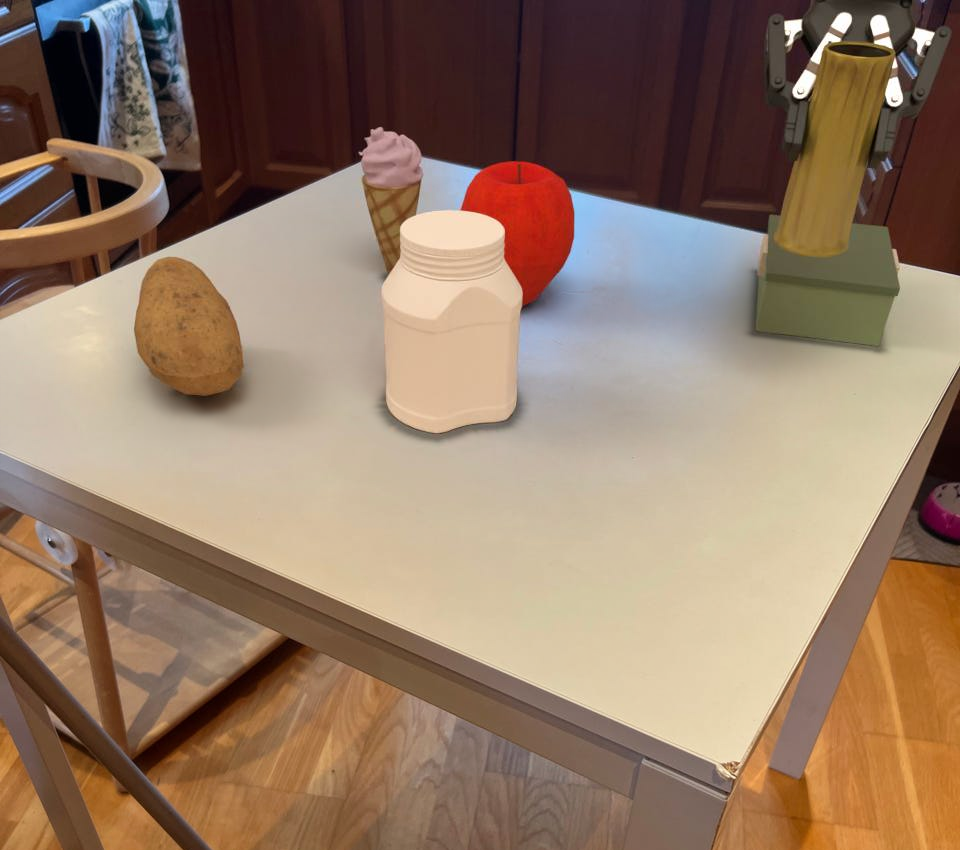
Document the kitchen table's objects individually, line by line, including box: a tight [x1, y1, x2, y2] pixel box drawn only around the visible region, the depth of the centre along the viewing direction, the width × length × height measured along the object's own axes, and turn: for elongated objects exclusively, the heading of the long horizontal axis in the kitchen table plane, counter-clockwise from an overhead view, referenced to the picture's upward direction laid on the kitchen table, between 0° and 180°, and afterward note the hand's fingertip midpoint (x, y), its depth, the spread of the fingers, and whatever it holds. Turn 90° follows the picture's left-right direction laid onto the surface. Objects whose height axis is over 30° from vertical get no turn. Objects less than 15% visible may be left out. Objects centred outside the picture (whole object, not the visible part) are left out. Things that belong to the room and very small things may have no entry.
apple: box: [459, 160, 575, 307], centre depth 97 cm, size 12×12×13 cm
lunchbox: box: [755, 214, 901, 347], centre depth 100 cm, size 13×16×6 cm
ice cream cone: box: [358, 126, 424, 276], centre depth 101 cm, size 7×6×15 cm
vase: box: [774, 41, 895, 257], centre depth 76 cm, size 6×6×14 cm
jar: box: [380, 209, 523, 434], centre depth 81 cm, size 12×10×15 cm
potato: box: [133, 256, 245, 397], centre depth 84 cm, size 9×16×9 cm, turn 17°
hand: (834, 158), depth 75 cm, fingers closed on vase, 5 cm apart
